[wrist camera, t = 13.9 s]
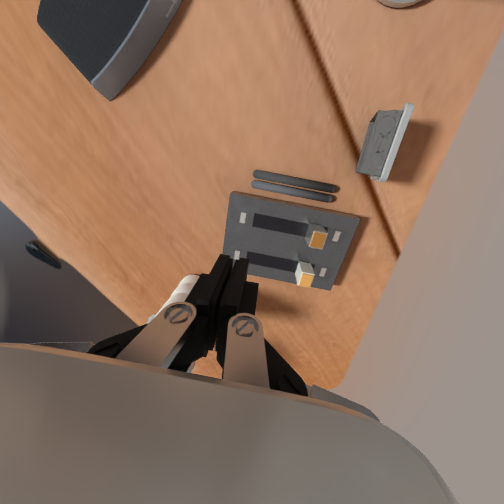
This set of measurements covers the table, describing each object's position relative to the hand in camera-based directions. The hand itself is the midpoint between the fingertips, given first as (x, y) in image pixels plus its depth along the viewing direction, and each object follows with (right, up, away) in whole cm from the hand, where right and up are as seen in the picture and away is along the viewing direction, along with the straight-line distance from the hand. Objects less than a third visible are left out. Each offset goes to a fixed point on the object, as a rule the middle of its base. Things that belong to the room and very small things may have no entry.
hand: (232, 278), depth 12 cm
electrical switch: (+21, +19, +23) cm, 36 cm away
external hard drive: (-19, +37, +19) cm, 46 cm away
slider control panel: (+8, +4, +31) cm, 32 cm away
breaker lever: (+12, -2, +30) cm, 32 cm away
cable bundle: (+9, +14, +26) cm, 31 cm away
